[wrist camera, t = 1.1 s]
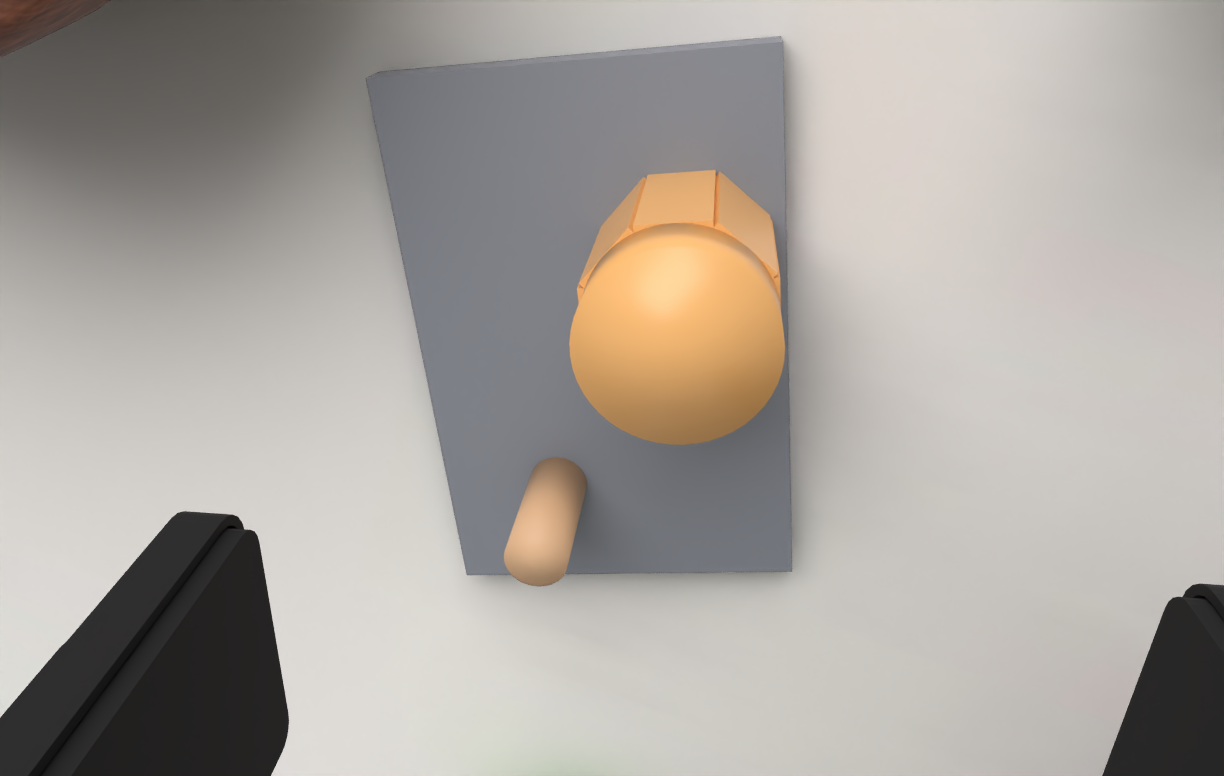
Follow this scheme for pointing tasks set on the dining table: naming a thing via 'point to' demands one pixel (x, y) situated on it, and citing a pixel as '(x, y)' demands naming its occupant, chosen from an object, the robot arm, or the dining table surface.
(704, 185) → the orange dome-topped faceted piece
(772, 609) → the dining table surface
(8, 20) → the wooden bowl
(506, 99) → the board
